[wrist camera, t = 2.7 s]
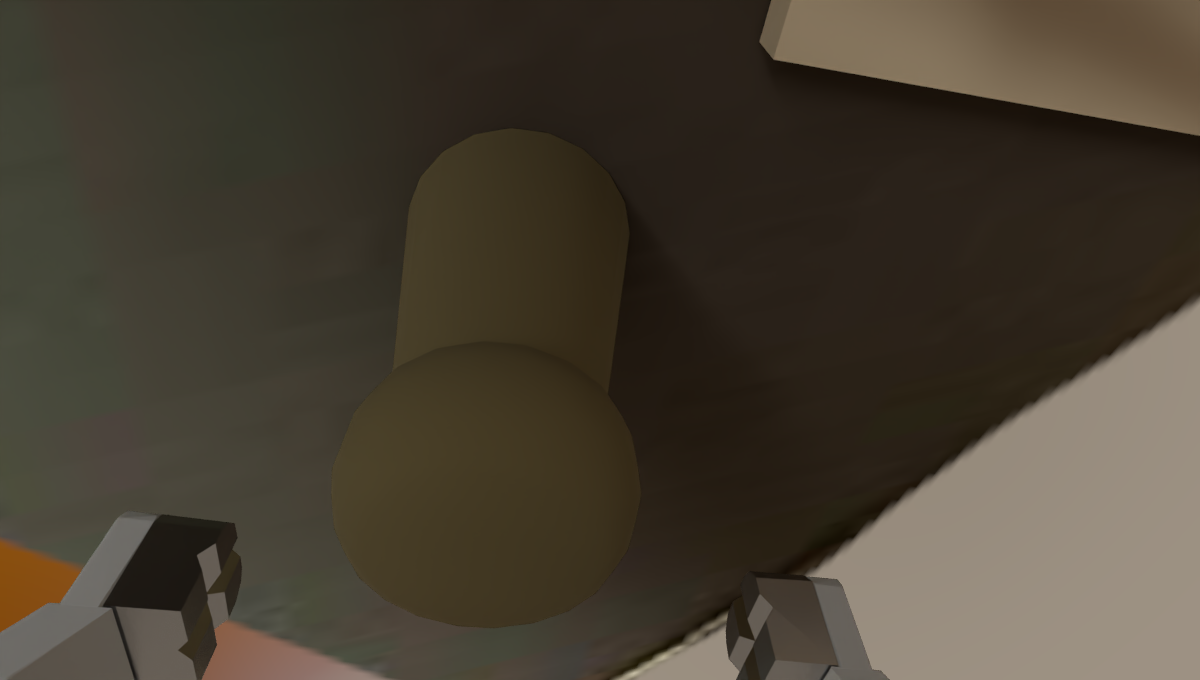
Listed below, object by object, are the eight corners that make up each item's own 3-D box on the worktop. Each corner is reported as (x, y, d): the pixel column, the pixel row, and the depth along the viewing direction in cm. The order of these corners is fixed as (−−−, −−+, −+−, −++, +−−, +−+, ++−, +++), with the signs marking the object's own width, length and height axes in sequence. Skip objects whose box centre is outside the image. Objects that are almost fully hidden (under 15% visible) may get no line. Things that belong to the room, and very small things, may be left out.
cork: (428, 98, 18) (290, 383, 9) (661, 166, 19) (739, 476, 10) (392, 298, 21) (264, 651, 12) (592, 345, 23) (606, 698, 14)
